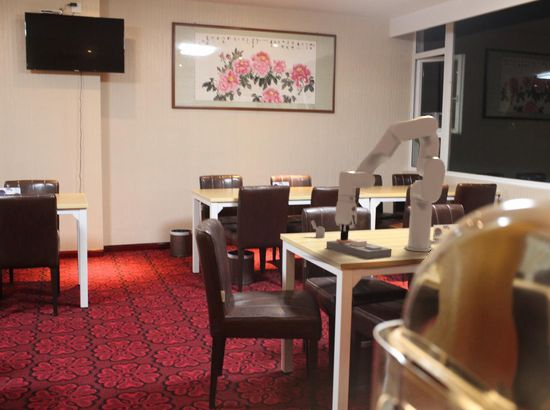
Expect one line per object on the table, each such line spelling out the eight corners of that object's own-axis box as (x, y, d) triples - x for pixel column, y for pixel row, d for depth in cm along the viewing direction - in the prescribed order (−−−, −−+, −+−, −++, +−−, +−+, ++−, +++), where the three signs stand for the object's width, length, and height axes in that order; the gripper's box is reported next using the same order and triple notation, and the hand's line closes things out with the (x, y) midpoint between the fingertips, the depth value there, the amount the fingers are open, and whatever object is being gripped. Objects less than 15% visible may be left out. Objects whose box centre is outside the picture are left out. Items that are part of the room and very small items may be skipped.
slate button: (372, 252, 254) (373, 245, 254) (381, 254, 250) (381, 247, 250) (364, 253, 251) (364, 246, 251) (372, 255, 247) (373, 248, 247)
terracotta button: (344, 245, 269) (345, 238, 268) (352, 246, 265) (352, 240, 264) (336, 245, 266) (336, 239, 266) (343, 247, 262) (344, 241, 262)
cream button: (358, 246, 261) (358, 239, 261) (366, 247, 257) (366, 241, 257) (350, 246, 258) (350, 240, 258) (357, 248, 254) (358, 241, 254)
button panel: (349, 245, 273) (350, 239, 272) (391, 256, 252) (391, 249, 251) (326, 247, 265) (326, 241, 264) (367, 258, 244) (367, 251, 243)
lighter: (324, 237, 294) (325, 221, 293) (323, 237, 293) (324, 221, 292) (311, 235, 297) (312, 220, 296) (309, 236, 296) (310, 220, 295)
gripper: (364, 200, 259) (361, 242, 261) (341, 197, 271) (339, 236, 273) (351, 201, 255) (349, 243, 257) (329, 197, 267) (326, 237, 269)
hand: (344, 239), depth 265 cm, fingers closed
